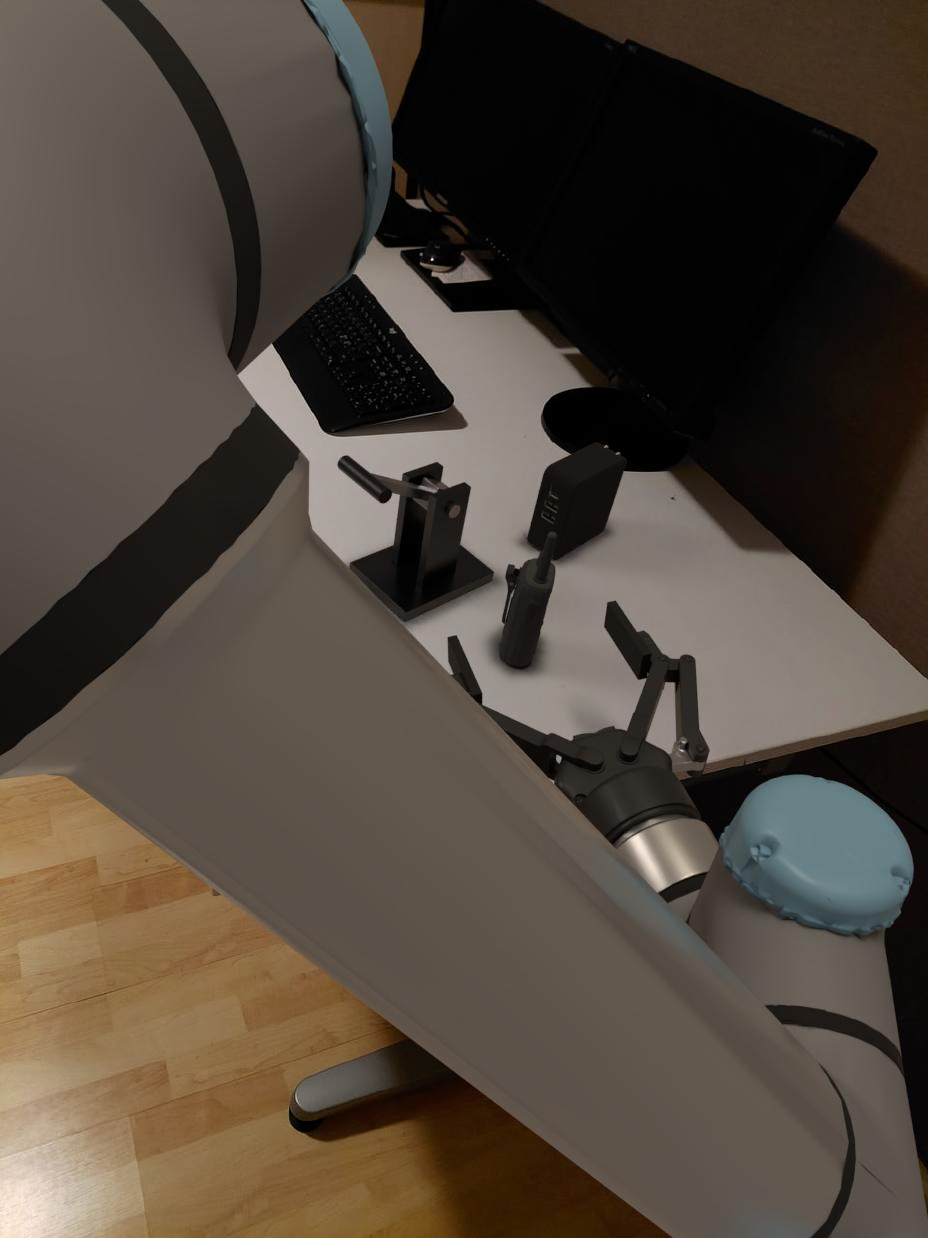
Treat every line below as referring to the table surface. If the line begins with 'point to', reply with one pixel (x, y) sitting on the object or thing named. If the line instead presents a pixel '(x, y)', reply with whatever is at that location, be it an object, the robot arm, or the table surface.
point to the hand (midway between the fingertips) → (532, 630)
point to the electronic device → (576, 497)
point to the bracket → (424, 552)
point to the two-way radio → (527, 605)
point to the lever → (388, 484)
